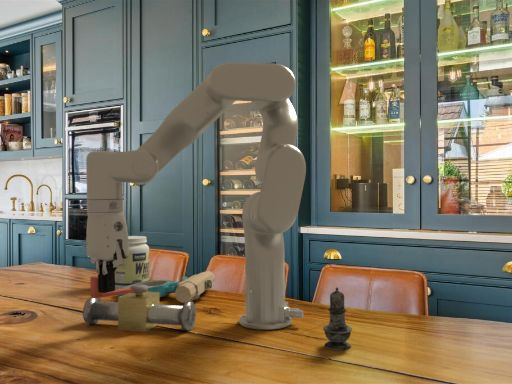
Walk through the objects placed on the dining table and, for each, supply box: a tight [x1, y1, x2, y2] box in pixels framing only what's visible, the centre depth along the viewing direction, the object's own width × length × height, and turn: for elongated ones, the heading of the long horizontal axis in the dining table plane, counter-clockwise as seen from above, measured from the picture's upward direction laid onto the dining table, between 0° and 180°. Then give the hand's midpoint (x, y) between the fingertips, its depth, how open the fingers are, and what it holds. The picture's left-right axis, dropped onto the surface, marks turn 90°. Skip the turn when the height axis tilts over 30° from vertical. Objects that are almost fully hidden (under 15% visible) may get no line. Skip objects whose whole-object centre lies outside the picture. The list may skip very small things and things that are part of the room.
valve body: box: [82, 292, 197, 333], centre depth 108 cm, size 26×7×8 cm, turn 76°
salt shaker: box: [322, 286, 353, 351], centre depth 93 cm, size 6×6×12 cm
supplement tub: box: [115, 235, 151, 290], centre depth 153 cm, size 12×12×17 cm
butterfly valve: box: [116, 270, 216, 304], centre depth 138 cm, size 27×7×30 cm
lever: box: [89, 275, 148, 299], centre depth 105 cm, size 13×4×5 cm, turn 128°
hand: (106, 291), depth 100 cm, fingers closed
